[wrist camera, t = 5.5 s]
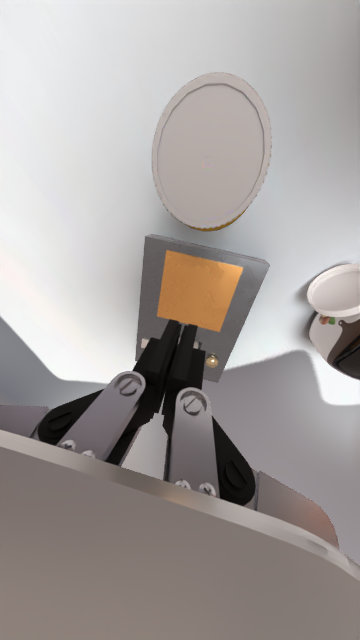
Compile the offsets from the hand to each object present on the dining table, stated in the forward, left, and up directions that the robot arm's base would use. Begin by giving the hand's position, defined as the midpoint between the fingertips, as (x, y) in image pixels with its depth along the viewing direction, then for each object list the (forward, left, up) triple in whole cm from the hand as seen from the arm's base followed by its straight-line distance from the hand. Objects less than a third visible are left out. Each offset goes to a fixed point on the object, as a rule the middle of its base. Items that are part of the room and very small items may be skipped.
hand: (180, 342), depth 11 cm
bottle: (+1, -9, -19) cm, 21 cm away
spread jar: (-20, +1, -19) cm, 28 cm away
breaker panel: (0, +8, -19) cm, 20 cm away
